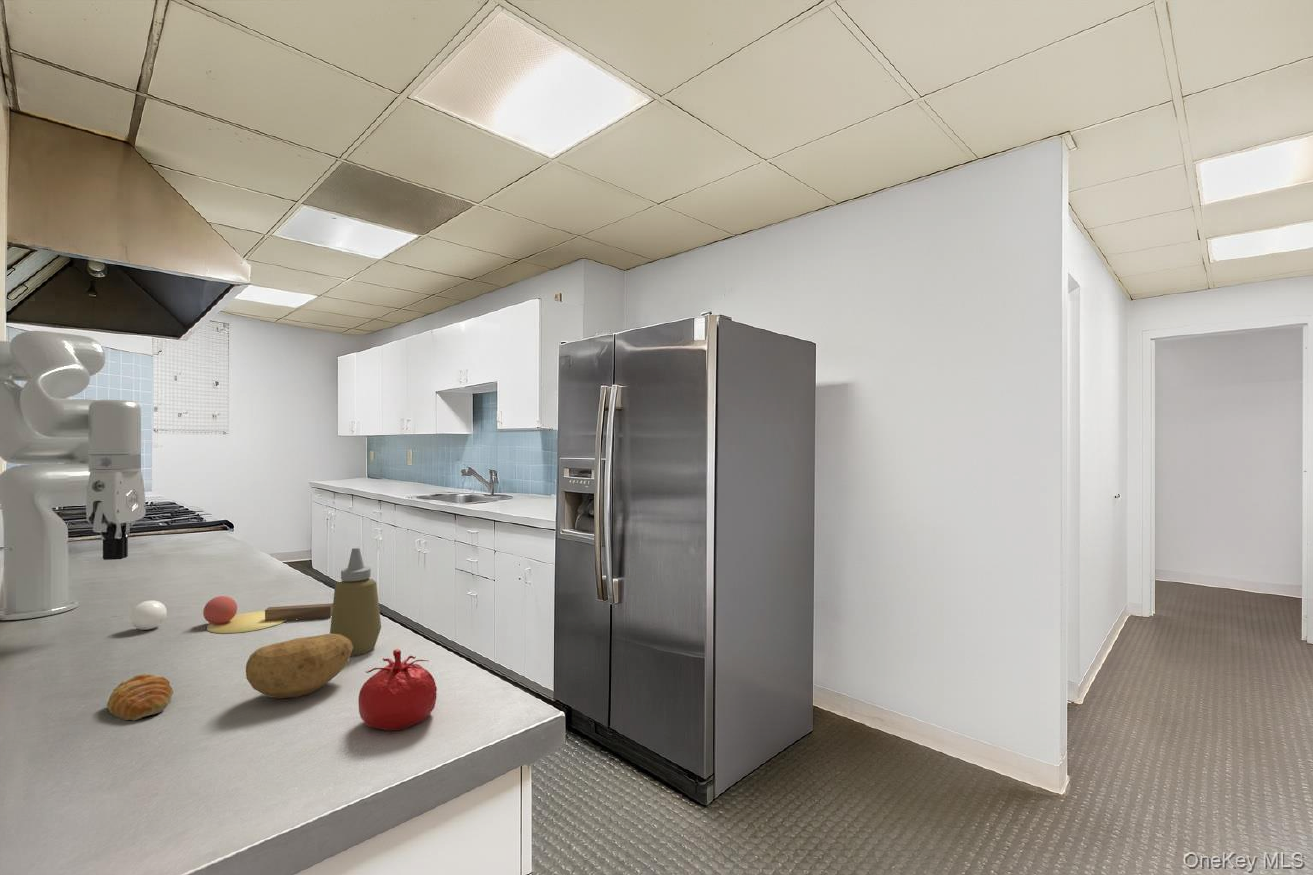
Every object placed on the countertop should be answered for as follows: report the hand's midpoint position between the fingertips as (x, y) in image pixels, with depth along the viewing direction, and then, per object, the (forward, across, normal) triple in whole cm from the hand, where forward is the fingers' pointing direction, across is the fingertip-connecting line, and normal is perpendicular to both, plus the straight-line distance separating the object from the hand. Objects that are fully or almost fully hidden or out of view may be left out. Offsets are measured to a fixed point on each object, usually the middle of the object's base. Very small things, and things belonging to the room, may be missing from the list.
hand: (115, 558), depth 115 cm
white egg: (+11, 0, -6) cm, 13 cm away
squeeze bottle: (+14, -23, -48) cm, 55 cm away
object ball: (+11, 0, -18) cm, 21 cm away
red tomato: (+14, -52, -60) cm, 80 cm away
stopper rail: (+14, 0, -32) cm, 35 cm away
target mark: (+14, 0, -23) cm, 27 cm away
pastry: (+14, -39, -24) cm, 48 cm away
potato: (+14, -39, -44) cm, 61 cm away
